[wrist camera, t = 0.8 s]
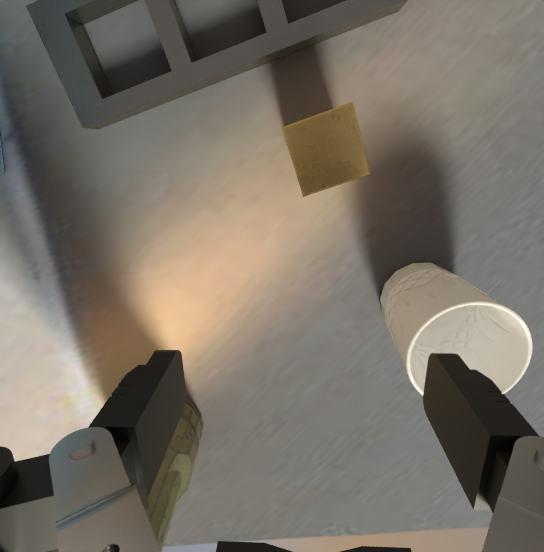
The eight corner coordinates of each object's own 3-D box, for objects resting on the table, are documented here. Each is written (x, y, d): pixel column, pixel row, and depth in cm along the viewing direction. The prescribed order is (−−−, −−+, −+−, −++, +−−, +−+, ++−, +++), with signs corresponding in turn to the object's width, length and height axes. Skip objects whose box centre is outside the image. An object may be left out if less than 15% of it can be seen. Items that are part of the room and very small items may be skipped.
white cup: (444, 239, 32) (511, 280, 22) (475, 314, 34) (547, 380, 24) (359, 280, 33) (387, 334, 24) (393, 348, 35) (432, 423, 26)
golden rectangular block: (335, 112, 29) (352, 101, 21) (349, 166, 30) (370, 174, 22) (283, 131, 29) (282, 127, 22) (299, 183, 30) (303, 196, 23)
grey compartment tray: (371, -129, 24) (380, -158, 21) (398, 11, 26) (408, -2, 24) (47, 17, 27) (26, 6, 25) (98, 129, 30) (82, 127, 27)
